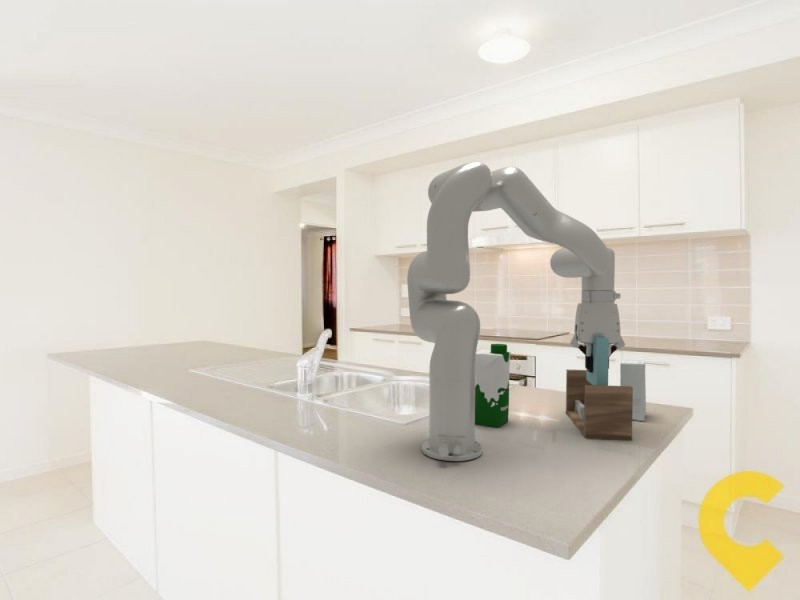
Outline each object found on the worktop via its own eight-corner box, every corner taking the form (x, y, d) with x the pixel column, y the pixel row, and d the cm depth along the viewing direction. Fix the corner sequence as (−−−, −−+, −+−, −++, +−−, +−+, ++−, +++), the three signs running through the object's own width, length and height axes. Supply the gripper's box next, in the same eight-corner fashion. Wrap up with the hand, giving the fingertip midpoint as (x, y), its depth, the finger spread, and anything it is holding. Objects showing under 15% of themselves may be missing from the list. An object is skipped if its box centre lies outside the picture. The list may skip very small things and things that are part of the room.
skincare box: (644, 422, 123) (645, 364, 122) (619, 418, 126) (620, 362, 125) (645, 414, 130) (646, 359, 130) (621, 411, 133) (622, 358, 132)
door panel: (608, 388, 114) (608, 338, 114) (596, 388, 115) (597, 338, 114) (596, 380, 124) (597, 333, 124) (586, 379, 124) (586, 333, 124)
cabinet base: (631, 440, 108) (632, 387, 108) (585, 438, 109) (586, 386, 109) (604, 414, 130) (604, 370, 129) (565, 413, 131) (566, 369, 131)
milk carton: (501, 429, 116) (502, 347, 115) (466, 423, 121) (467, 344, 120) (512, 420, 124) (513, 343, 123) (479, 415, 128) (480, 341, 128)
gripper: (627, 297, 121) (626, 369, 122) (560, 297, 123) (560, 368, 124) (637, 298, 114) (636, 375, 114) (566, 298, 116) (566, 374, 117)
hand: (596, 371), depth 119 cm, fingers closed on door panel, 2 cm apart
